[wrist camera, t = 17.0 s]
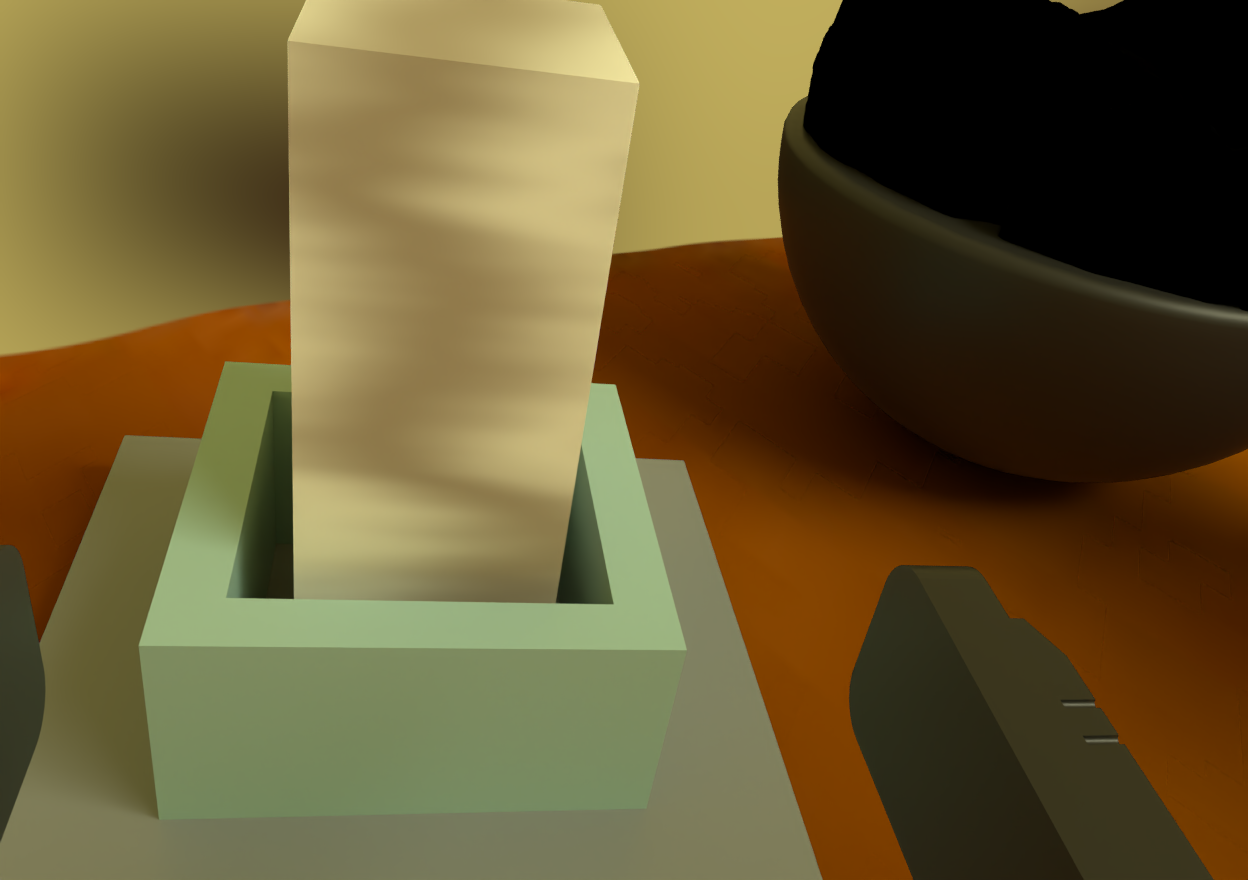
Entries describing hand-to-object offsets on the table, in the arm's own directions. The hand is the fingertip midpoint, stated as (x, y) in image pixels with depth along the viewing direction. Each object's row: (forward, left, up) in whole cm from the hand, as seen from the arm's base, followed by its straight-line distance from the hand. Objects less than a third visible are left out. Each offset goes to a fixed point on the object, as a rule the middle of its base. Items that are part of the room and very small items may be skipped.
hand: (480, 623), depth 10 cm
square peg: (0, -11, -11) cm, 16 cm away
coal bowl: (-21, -24, -13) cm, 34 cm away
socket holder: (0, -11, -13) cm, 17 cm away
